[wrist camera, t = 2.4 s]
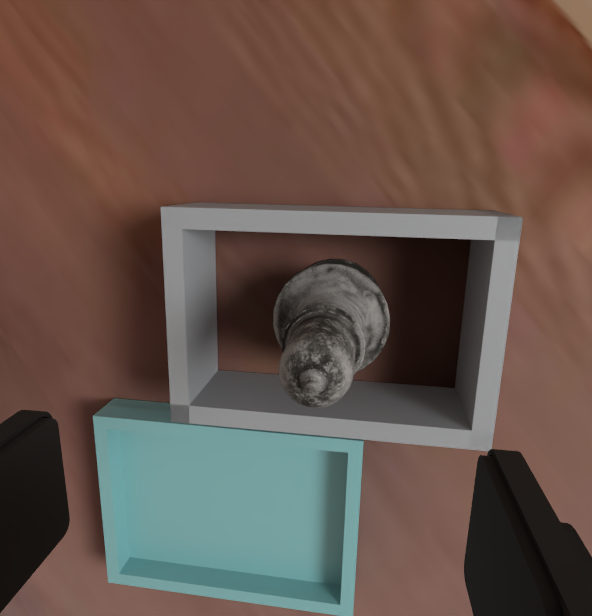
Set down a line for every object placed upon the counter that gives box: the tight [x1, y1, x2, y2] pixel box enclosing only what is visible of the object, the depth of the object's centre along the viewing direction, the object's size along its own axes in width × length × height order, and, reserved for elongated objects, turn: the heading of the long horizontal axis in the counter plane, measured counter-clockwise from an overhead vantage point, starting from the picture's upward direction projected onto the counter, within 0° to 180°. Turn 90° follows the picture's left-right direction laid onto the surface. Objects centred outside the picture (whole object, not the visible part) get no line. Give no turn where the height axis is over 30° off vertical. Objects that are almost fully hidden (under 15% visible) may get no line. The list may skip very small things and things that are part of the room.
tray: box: [93, 398, 364, 616], centre depth 31 cm, size 16×12×2 cm
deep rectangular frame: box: [161, 202, 523, 451], centre depth 25 cm, size 16×11×5 cm
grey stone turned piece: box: [273, 259, 390, 408], centre depth 22 cm, size 6×6×12 cm
